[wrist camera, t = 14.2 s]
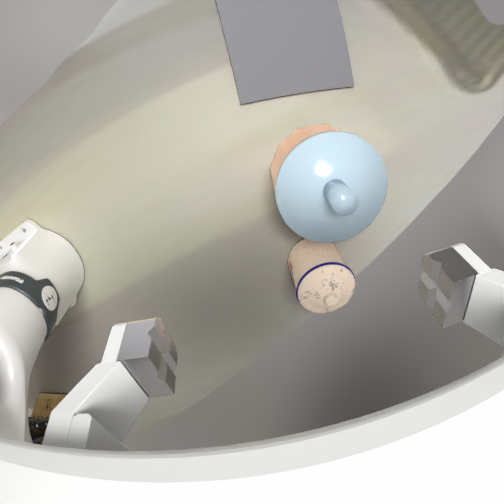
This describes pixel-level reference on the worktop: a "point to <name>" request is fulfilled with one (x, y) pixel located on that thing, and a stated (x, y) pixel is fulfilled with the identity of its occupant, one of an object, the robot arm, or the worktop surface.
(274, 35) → the mat
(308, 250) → the teacup with lid
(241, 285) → the worktop surface
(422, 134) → the worktop surface
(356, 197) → the lid
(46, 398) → the knife block
